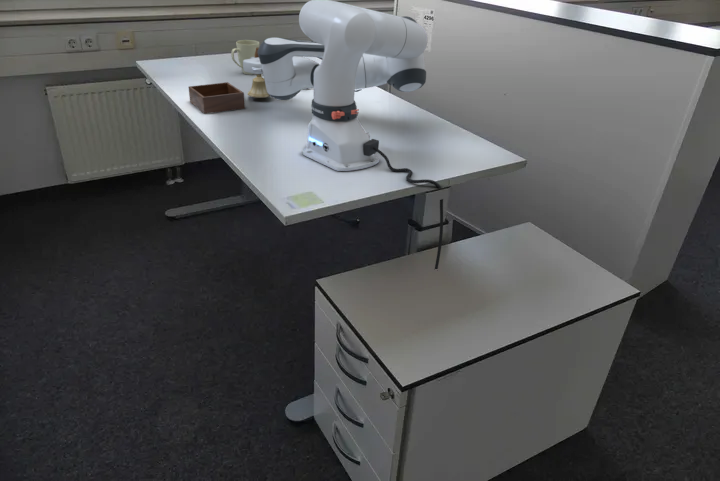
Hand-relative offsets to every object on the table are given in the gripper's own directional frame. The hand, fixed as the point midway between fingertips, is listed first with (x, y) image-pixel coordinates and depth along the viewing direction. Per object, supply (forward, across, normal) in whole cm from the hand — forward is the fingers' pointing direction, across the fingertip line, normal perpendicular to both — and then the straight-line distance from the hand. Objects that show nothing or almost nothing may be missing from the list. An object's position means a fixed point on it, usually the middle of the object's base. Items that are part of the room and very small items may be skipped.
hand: (256, 58), depth 191 cm
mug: (+28, +18, -14) cm, 36 cm away
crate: (+2, -16, -14) cm, 21 cm away
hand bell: (-1, 0, -12) cm, 12 cm away
